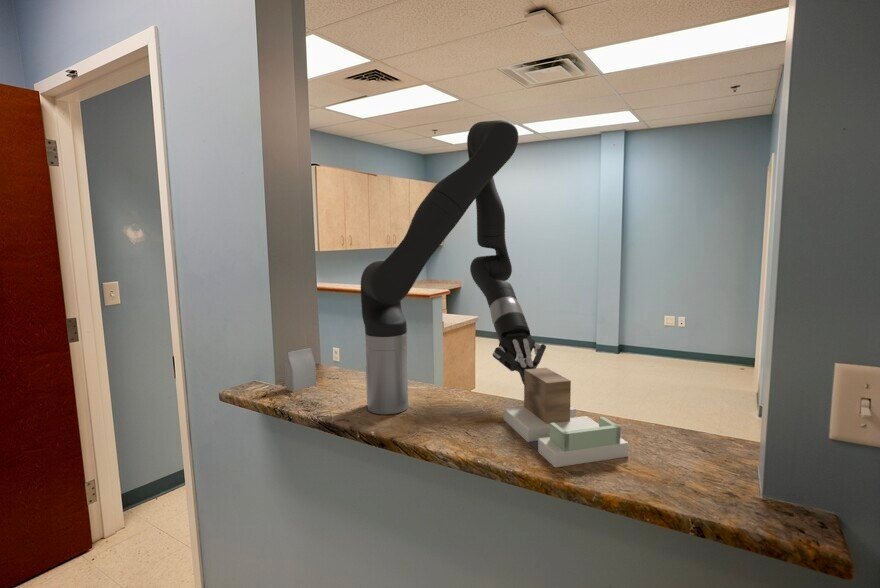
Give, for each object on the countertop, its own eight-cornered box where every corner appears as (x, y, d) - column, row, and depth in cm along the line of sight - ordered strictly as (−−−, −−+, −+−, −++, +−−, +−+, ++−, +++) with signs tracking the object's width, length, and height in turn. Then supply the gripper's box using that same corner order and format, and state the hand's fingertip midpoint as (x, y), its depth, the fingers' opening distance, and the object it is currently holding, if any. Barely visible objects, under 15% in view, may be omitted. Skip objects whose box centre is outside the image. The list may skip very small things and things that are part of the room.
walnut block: (524, 406, 98) (524, 369, 98) (545, 404, 100) (546, 367, 99) (546, 424, 89) (547, 383, 88) (570, 421, 90) (570, 380, 89)
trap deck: (503, 419, 98) (503, 394, 97) (563, 412, 102) (563, 387, 101) (554, 467, 77) (555, 435, 76) (628, 456, 80) (629, 425, 80)
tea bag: (316, 386, 123) (314, 348, 122) (293, 392, 118) (291, 353, 117) (308, 383, 125) (306, 347, 124) (285, 389, 120) (283, 351, 119)
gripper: (486, 312, 106) (507, 379, 96) (539, 309, 110) (565, 374, 99) (478, 331, 112) (498, 396, 101) (529, 327, 115) (552, 390, 105)
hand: (531, 385), depth 100 cm, fingers closed
